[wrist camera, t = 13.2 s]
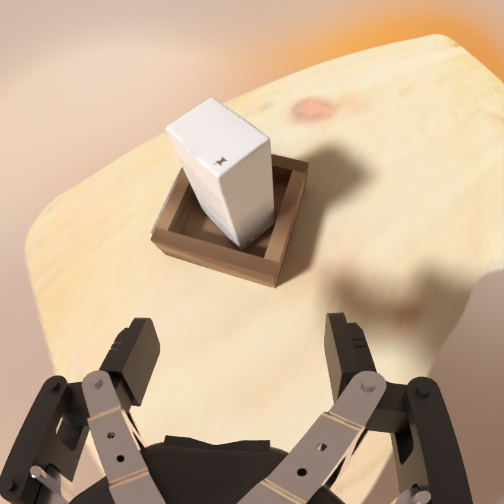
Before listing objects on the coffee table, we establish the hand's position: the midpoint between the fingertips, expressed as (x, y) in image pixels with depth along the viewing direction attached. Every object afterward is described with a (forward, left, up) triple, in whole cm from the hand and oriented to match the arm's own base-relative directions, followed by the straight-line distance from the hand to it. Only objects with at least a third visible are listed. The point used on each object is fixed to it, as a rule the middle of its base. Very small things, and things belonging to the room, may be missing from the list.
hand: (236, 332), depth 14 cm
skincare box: (-11, -5, -12) cm, 17 cm away
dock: (-11, -7, -13) cm, 18 cm away
